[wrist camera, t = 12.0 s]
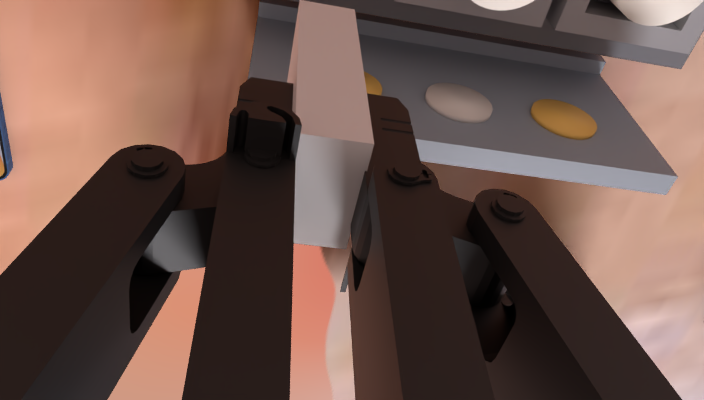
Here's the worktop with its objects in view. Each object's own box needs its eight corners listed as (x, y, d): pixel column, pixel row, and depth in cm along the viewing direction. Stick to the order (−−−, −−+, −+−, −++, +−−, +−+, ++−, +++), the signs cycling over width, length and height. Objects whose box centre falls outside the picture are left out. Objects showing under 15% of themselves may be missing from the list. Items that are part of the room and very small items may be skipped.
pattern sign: (600, 55, 41) (687, 162, 31) (580, 95, 42) (657, 208, 33) (260, -5, 37) (244, 96, 28) (255, 42, 39) (238, 152, 29)
